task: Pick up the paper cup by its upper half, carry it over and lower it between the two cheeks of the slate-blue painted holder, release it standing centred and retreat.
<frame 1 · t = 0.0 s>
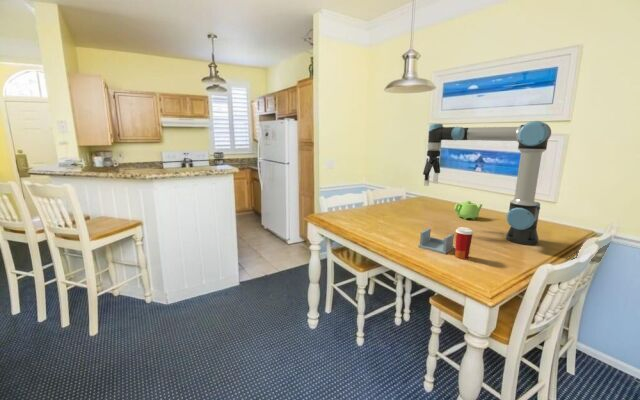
hand: (430, 184, 186), 28 cm above the table, fingers open, 13 cm apart
teapot: (467, 218, 215), on the table
paper cup: (461, 257, 144), on the table
holder: (435, 247, 156), on the table
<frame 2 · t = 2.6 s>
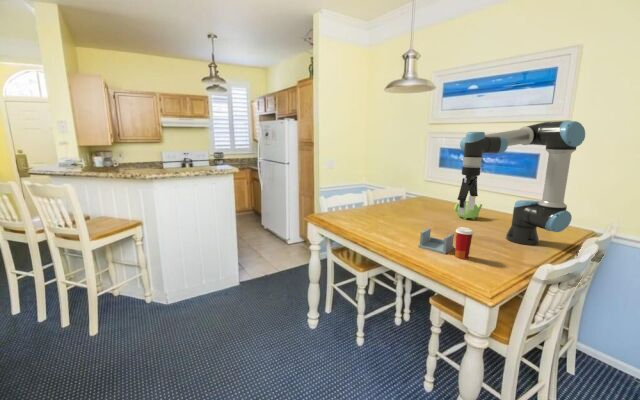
hand: (466, 211, 140), 22 cm above the table, fingers open, 13 cm apart
nothing on the table moved.
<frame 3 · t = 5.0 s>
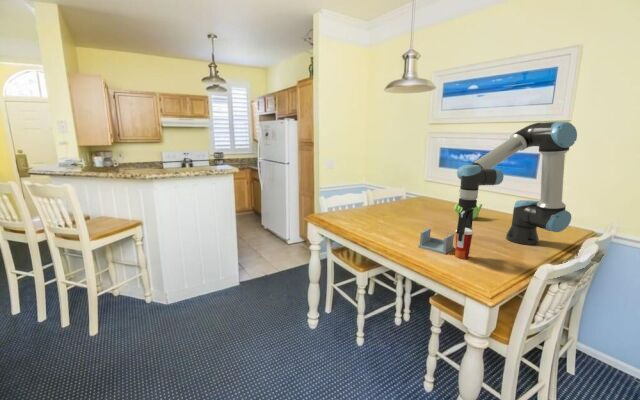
hand: (462, 244, 143), 6 cm above the table, fingers closed on paper cup, 8 cm apart
paper cup: (461, 257, 144), on the table, touching gripper
everything else where it was.
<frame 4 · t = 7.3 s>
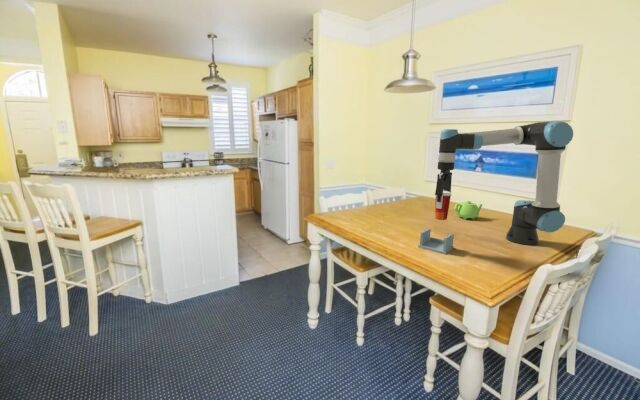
hand: (441, 206, 151), 22 cm above the table, fingers closed on paper cup, 8 cm apart
paper cup: (440, 219, 152), point 16 cm above the table, touching gripper
everything else where it was.
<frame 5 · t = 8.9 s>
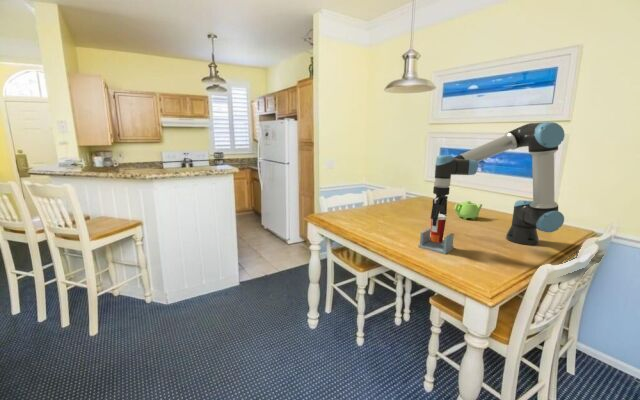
hand: (437, 229, 154), 10 cm above the table, fingers closed on paper cup, 8 cm apart
paper cup: (436, 241, 156), point 3 cm above the table, touching gripper
everything else where it was.
when the fingers open (8 cm above the table, at t = 10.0 s): paper cup stays where it is, resting on holder.
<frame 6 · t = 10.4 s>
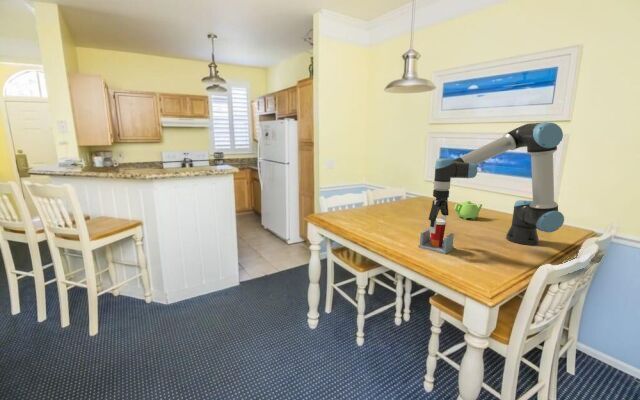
hand: (437, 229, 154), 10 cm above the table, fingers open, 13 cm apart
paper cup: (436, 246, 156), point 1 cm above the table, touching holder
everything else where it was.
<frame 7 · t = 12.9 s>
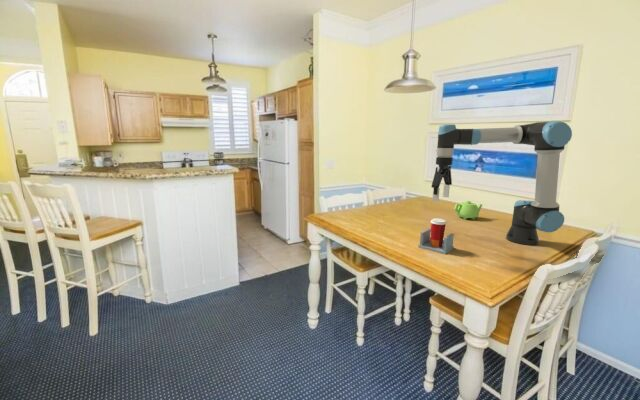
hand: (440, 199, 151), 26 cm above the table, fingers open, 13 cm apart
nothing on the table moved.
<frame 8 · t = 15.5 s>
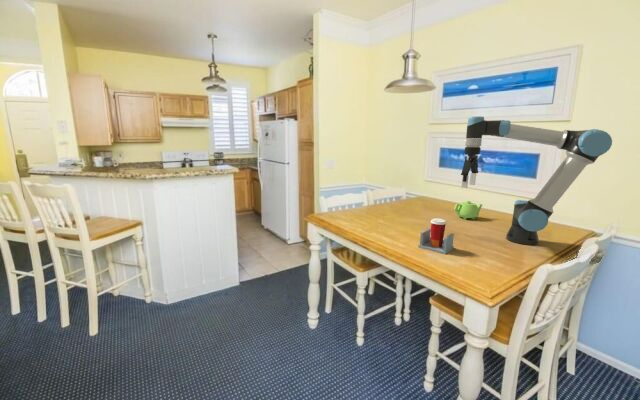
hand: (468, 186, 163), 31 cm above the table, fingers open, 13 cm apart
nothing on the table moved.
at the end: paper cup 0.1 cm off-centre on the holder, point 0.8 cm above the holder's base; paper cup tilted 0°; the gripper is holding nothing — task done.
